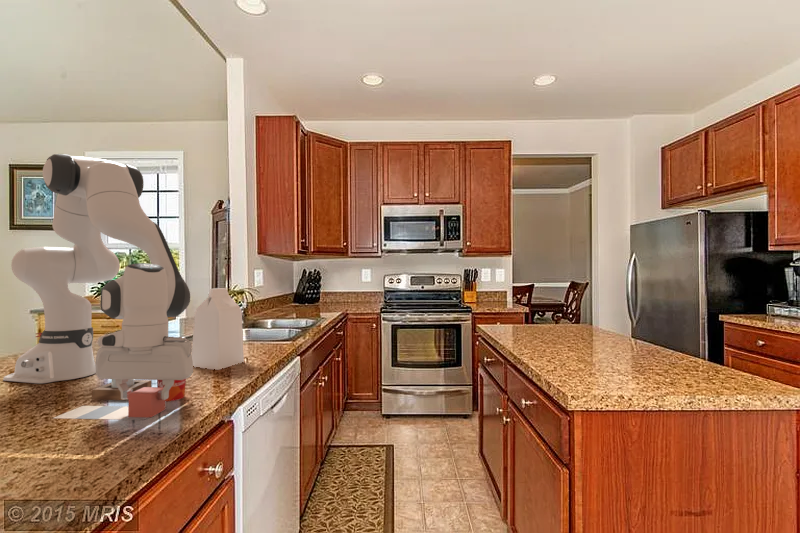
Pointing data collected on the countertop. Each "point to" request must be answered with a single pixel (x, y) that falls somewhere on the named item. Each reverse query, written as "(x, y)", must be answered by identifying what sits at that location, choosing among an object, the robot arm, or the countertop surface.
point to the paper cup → (175, 389)
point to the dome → (129, 383)
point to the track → (99, 413)
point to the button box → (117, 390)
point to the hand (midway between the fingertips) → (144, 398)
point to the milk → (217, 332)
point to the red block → (145, 402)
